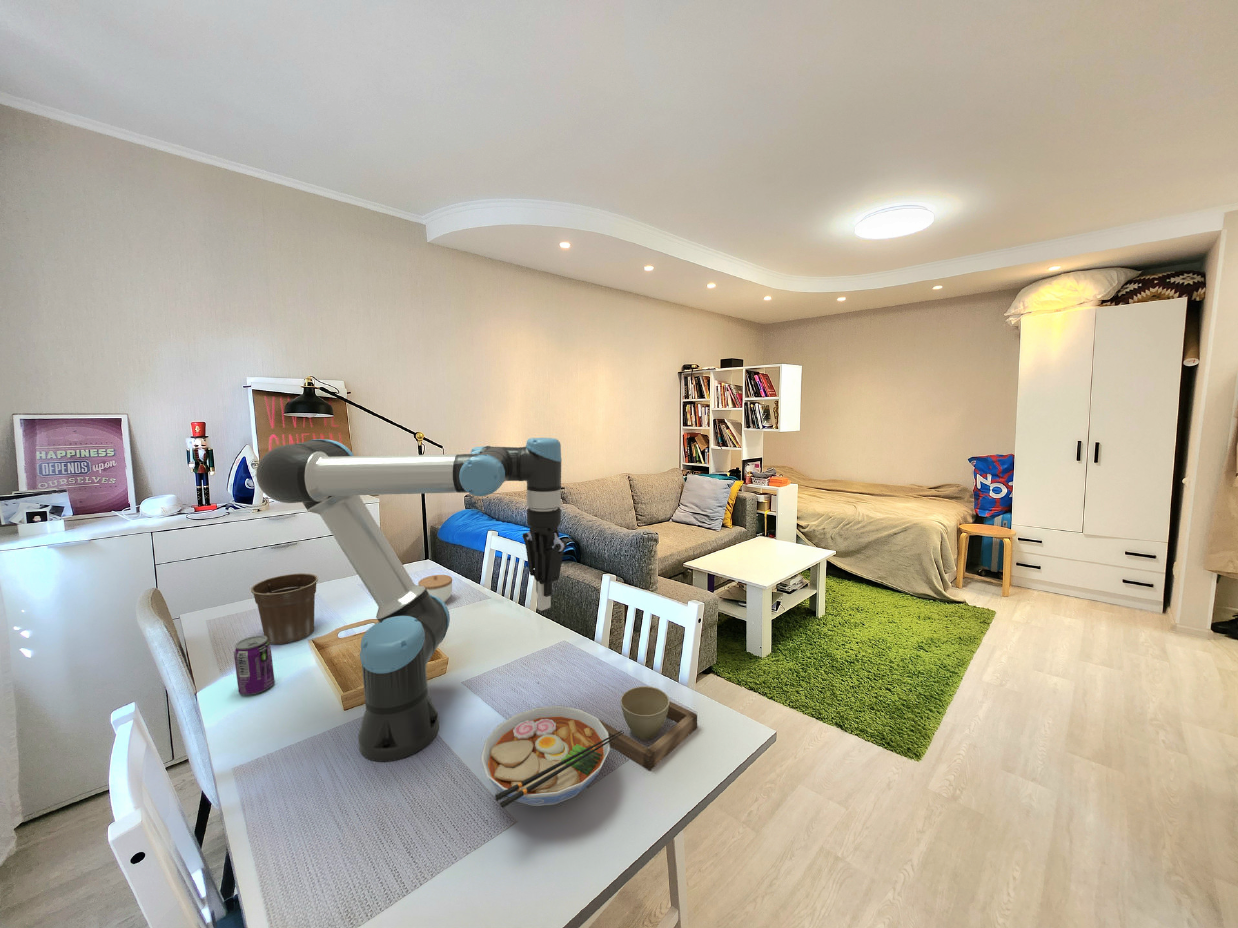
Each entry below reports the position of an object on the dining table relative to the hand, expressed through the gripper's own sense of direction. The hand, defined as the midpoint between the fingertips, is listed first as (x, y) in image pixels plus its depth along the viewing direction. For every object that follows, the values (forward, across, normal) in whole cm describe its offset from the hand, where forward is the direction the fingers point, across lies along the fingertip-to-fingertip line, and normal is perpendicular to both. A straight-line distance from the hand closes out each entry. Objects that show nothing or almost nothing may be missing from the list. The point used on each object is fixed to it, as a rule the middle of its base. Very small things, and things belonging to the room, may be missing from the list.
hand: (544, 607), depth 115 cm
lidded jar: (+23, +68, -9) cm, 72 cm away
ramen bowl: (+21, -22, +17) cm, 35 cm away
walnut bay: (+20, -26, -5) cm, 33 cm away
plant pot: (+24, +78, +31) cm, 88 cm away
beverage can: (+23, +53, +45) cm, 73 cm away
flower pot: (+20, -27, -5) cm, 34 cm away
